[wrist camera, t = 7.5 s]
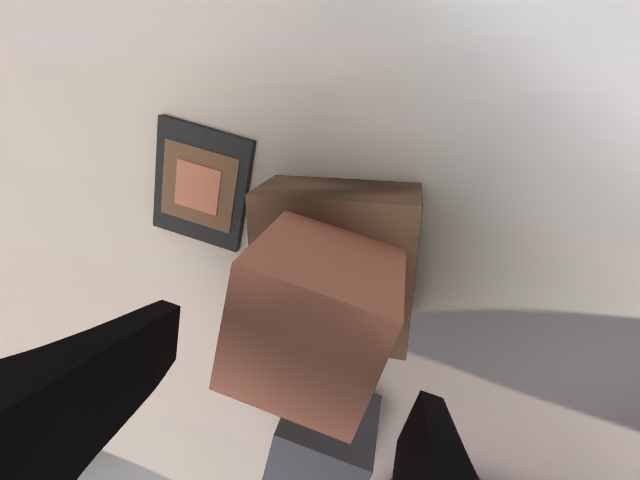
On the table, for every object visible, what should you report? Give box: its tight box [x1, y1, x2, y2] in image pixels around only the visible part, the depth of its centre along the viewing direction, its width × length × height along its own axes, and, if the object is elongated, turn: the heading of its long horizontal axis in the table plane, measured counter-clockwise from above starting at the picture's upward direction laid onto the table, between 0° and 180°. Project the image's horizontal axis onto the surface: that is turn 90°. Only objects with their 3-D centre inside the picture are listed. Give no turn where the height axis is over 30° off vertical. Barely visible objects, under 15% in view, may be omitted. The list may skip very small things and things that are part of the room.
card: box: [153, 115, 256, 252], centre depth 20 cm, size 5×6×1 cm
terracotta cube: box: [209, 210, 406, 444], centre depth 14 cm, size 5×5×5 cm
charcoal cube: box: [262, 393, 381, 480], centre depth 21 cm, size 5×5×5 cm
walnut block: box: [245, 175, 423, 360], centre depth 18 cm, size 7×7×4 cm
